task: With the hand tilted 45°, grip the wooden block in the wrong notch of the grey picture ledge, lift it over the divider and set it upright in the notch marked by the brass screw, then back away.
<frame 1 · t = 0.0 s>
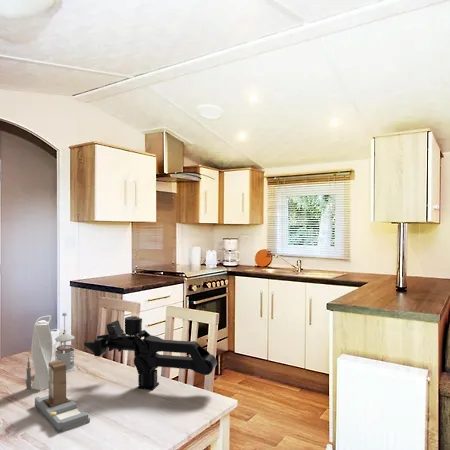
hand: (90, 340, 161), 17 cm above the table, tool horizontal, fingers open, 9 cm apart
french press: (64, 368, 176), on the table
skyscraper: (41, 388, 155), on the table
wooden block: (57, 404, 138), point 1 cm above the table, touching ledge
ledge: (63, 413, 134), on the table
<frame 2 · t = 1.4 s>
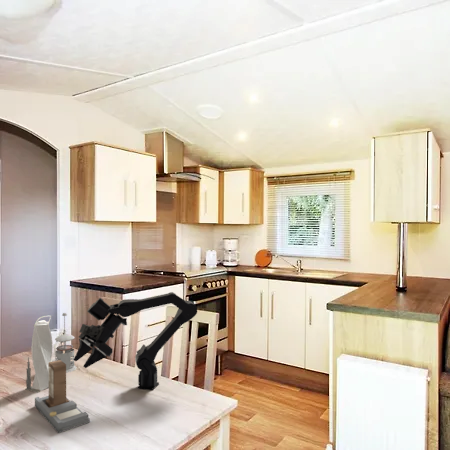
hand: (79, 363, 143), 13 cm above the table, tool tilted 45°, fingers open, 9 cm apart
nothing on the table moved.
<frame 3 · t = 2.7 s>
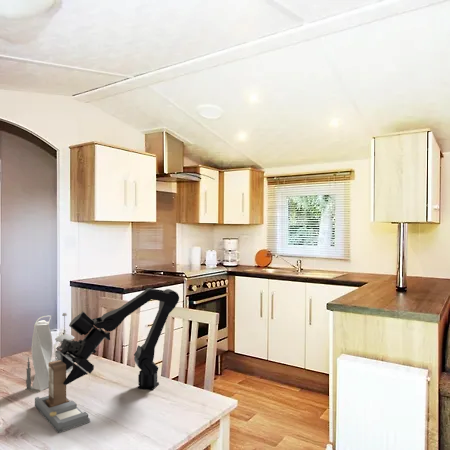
hand: (59, 380, 138), 9 cm above the table, tool tilted 45°, fingers open, 9 cm apart
nothing on the table moved.
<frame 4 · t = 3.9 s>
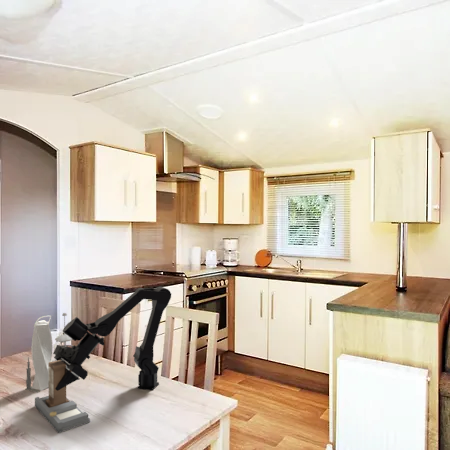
hand: (53, 387, 137), 8 cm above the table, tool tilted 45°, fingers closed on wooden block, 6 cm apart
wooden block: (57, 404, 138), point 1 cm above the table, touching gripper, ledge
everything else where it was.
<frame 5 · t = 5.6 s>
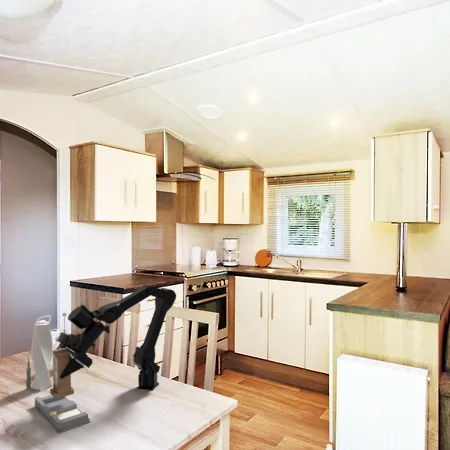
hand: (57, 375, 133), 13 cm above the table, tool tilted 45°, fingers closed on wooden block, 6 cm apart
wooden block: (62, 393, 134), point 6 cm above the table, touching gripper
everything else where it was.
when the fingers open (9 cm above the table, at t = 7.6 s): wooden block stays where it is, resting on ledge.
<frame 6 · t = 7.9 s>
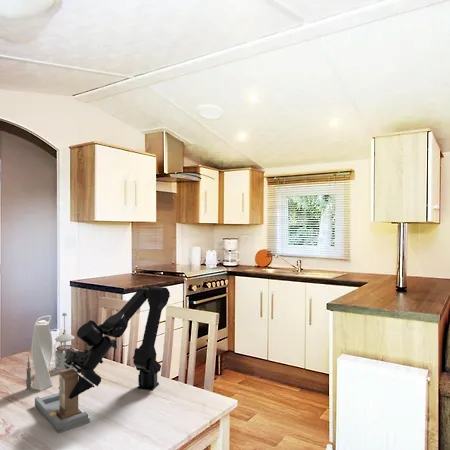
hand: (64, 393, 128), 9 cm above the table, tool tilted 45°, fingers open, 9 cm apart
wooden block: (68, 415, 129), point 1 cm above the table, touching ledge
everything else where it was.
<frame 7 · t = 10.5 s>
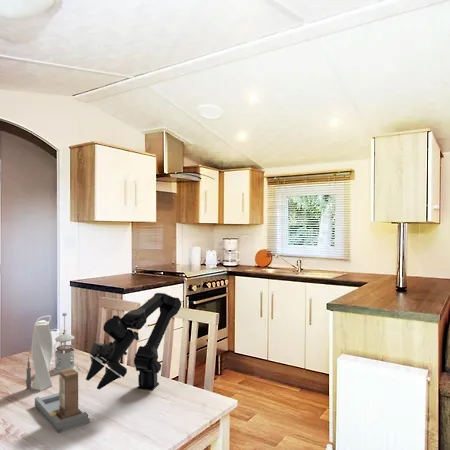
hand: (92, 384, 135), 9 cm above the table, tool tilted 40°, fingers open, 9 cm apart
nothing on the table moved.
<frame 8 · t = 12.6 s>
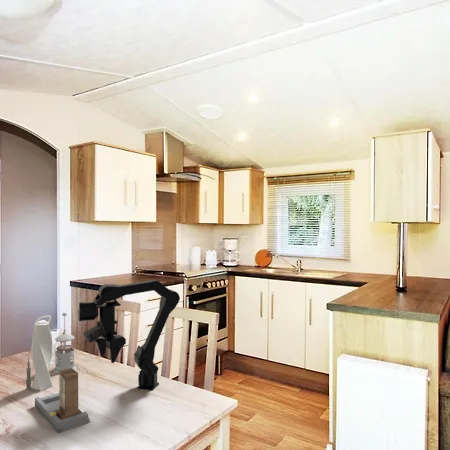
hand: (107, 359, 148), 13 cm above the table, tool pointing down, fingers open, 9 cm apart
nothing on the table moved.
at the end: wooden block 0.0 cm from the target spot on the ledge, point 1.1 cm above the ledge's base; wooden block tilted 0°; the gripper is holding nothing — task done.
